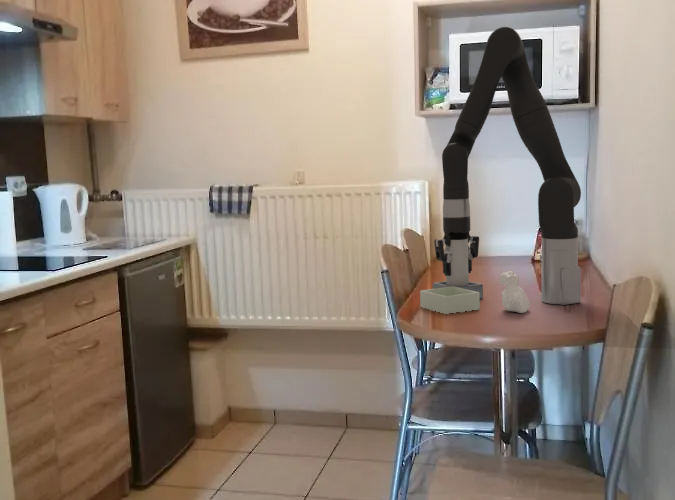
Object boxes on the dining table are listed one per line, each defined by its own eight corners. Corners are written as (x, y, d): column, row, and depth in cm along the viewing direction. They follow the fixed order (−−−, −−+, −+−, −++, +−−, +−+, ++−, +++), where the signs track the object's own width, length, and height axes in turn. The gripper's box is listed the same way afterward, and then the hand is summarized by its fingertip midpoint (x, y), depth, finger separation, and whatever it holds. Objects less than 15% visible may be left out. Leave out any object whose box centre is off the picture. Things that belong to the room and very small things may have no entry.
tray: (479, 309, 182) (479, 292, 182) (445, 314, 178) (445, 297, 177) (453, 302, 193) (452, 286, 192) (420, 307, 188) (420, 290, 188)
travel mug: (443, 299, 198) (441, 228, 196) (450, 294, 204) (449, 225, 202) (464, 300, 195) (463, 228, 193) (471, 295, 201) (470, 226, 199)
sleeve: (482, 298, 197) (482, 284, 196) (454, 302, 193) (454, 287, 192) (460, 292, 206) (460, 279, 206) (432, 296, 202) (432, 282, 202)
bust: (514, 314, 186) (487, 280, 186) (538, 297, 183) (510, 263, 184) (513, 324, 174) (484, 288, 175) (539, 306, 172) (509, 270, 173)
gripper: (442, 217, 190) (444, 278, 192) (485, 214, 197) (486, 273, 199) (427, 216, 197) (428, 275, 199) (469, 212, 203) (470, 270, 205)
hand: (457, 274), depth 199 cm, fingers closed on travel mug, 6 cm apart
